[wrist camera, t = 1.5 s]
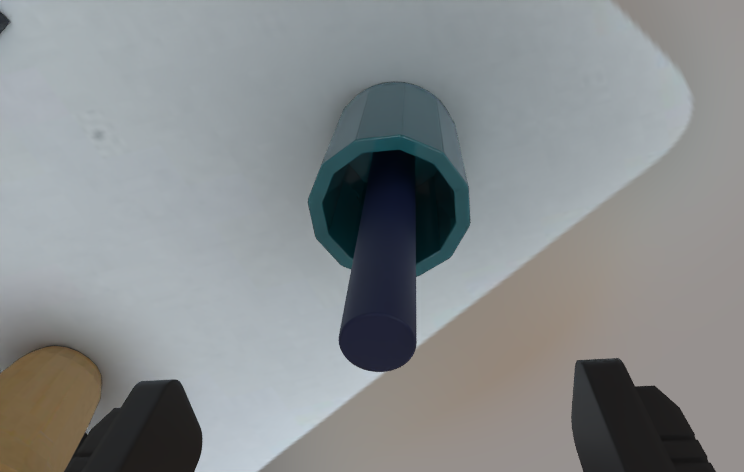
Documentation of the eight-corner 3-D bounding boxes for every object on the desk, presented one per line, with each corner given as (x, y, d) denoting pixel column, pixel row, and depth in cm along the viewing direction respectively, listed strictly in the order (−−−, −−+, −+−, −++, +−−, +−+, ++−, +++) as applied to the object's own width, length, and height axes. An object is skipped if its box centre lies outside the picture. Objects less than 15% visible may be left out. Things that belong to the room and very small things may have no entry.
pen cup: (312, 129, 24) (277, 197, 18) (408, 55, 22) (406, 102, 16) (383, 215, 26) (374, 302, 19) (478, 153, 24) (500, 229, 18)
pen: (366, 141, 23) (322, 336, 12) (399, 117, 23) (384, 300, 11) (390, 171, 24) (370, 383, 13) (423, 149, 23) (431, 352, 12)
